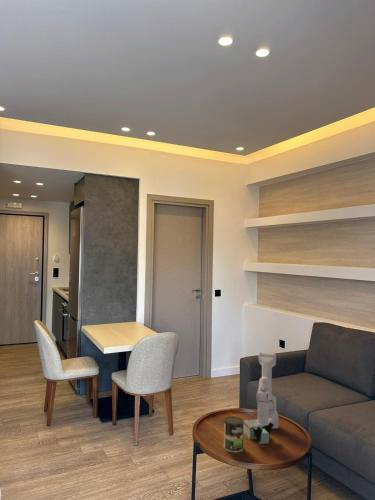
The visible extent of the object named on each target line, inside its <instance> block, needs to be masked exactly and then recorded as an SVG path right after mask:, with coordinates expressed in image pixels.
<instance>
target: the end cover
mask: <svg viewBox="0 0 375 500" xmlns="http://www.w3.org/2000/svg"><path fill="white" fill-rule="evenodd" d="M261 430H263V431H262V434H261V441H260V442H258V443H259V445H265V444H269V443H270V437H269V433H268V432H267V431H266V430H265V429H262V428H261ZM254 440H256V436H255V439H254Z"/></svg>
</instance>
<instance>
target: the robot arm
mask: <svg viewBox="0 0 375 500" xmlns="http://www.w3.org/2000/svg"><path fill="white" fill-rule="evenodd" d="M257 358H258V359H257V360H258V362H259V364H260V365H261V377H260V378H259V382H258V390H257V391H256V405H257V418H256V419H257V420H256V421H257V422H256V423H255V424H254V425H253V427H252V429H253V431H254V433H255V436H256V439H255V441H256V442H258V443H259V442H260V441H261V434H262V431H263V430H261V429H260V427H262V426H264V428H265V430H266V431H267V432H268V433H269V438H270V436H271V432H272V429H279V413H278V411H277V398H276V396H275V395H274V394H273V393H272V377H273V376H272V374H273V373H272V370H273V367H275V366H276V365H277V354H276V353H275V352H266V351H259V352H258V357H257Z"/></svg>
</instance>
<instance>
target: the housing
mask: <svg viewBox="0 0 375 500" xmlns="http://www.w3.org/2000/svg"><path fill="white" fill-rule="evenodd" d="M257 419H258V418H254V419H245V420H244V419H243V421H244V423H243V435H245V436H246V438H248V439H249V440H256V439H255V433H254V431H253V429H252V427H253V425H254V424H255V423H256V422H257V421H256V420H257ZM261 428H262V429H265V428H264V426H262V427H260V429H261Z"/></svg>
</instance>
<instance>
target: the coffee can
mask: <svg viewBox="0 0 375 500" xmlns="http://www.w3.org/2000/svg"><path fill="white" fill-rule="evenodd" d="M243 420H244V419H243V418H241V417H239V416H234V415H233V416H232V415H231V416H227V417H225V418H224V419H223V449H224V450H225V451H226V452H229V453H241V452H242V451H243V450H244V433H243V423H244V421H243Z"/></svg>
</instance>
